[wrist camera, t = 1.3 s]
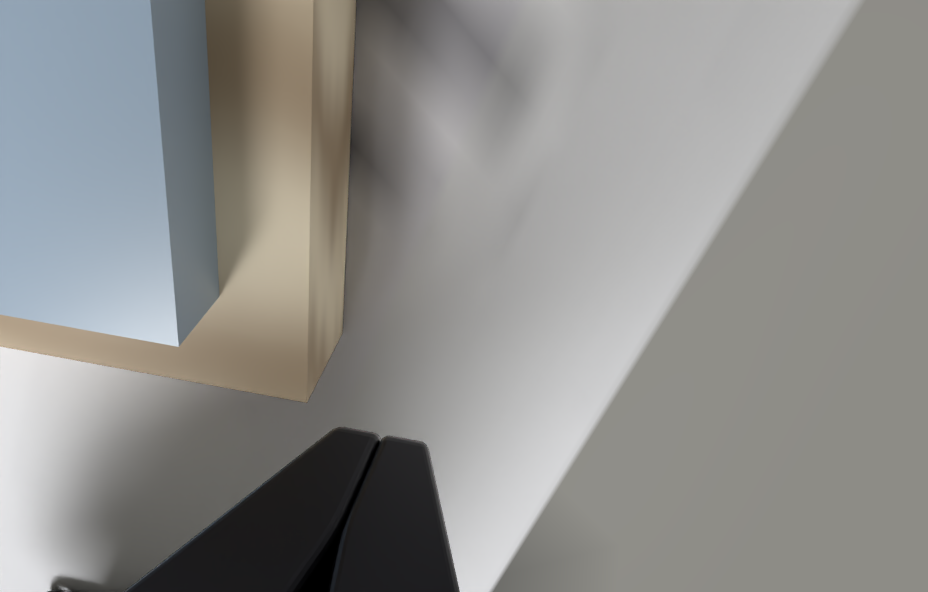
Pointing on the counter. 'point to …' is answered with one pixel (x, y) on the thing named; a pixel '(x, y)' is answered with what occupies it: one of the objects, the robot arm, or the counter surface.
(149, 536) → the counter surface
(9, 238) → the blue-grey block
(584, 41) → the counter surface
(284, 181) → the panel
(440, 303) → the counter surface
